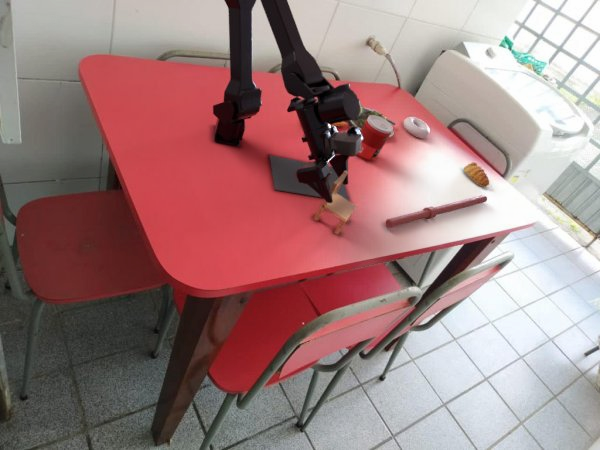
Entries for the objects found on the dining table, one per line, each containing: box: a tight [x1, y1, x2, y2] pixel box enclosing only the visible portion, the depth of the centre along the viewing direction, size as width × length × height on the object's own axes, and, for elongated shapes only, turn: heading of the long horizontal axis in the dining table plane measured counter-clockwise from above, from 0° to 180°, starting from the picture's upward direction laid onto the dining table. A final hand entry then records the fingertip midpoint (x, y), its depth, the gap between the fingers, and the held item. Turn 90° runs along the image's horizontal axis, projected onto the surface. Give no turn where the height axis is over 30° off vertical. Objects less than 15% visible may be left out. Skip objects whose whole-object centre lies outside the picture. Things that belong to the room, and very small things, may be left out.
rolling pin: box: [384, 194, 488, 229], centre depth 114 cm, size 45×3×3 cm, turn 123°
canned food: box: [356, 115, 394, 162], centre depth 119 cm, size 8×8×11 cm
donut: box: [403, 116, 431, 139], centre depth 145 cm, size 10×4×10 cm
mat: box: [268, 154, 351, 202], centre depth 104 cm, size 20×13×1 cm, turn 100°
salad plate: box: [346, 103, 396, 138], centre depth 136 cm, size 19×18×5 cm
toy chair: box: [313, 171, 357, 235], centre depth 93 cm, size 7×7×12 cm
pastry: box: [463, 161, 490, 188], centre depth 137 cm, size 9×7×4 cm
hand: (338, 193), depth 92 cm, fingers open, 9 cm apart
